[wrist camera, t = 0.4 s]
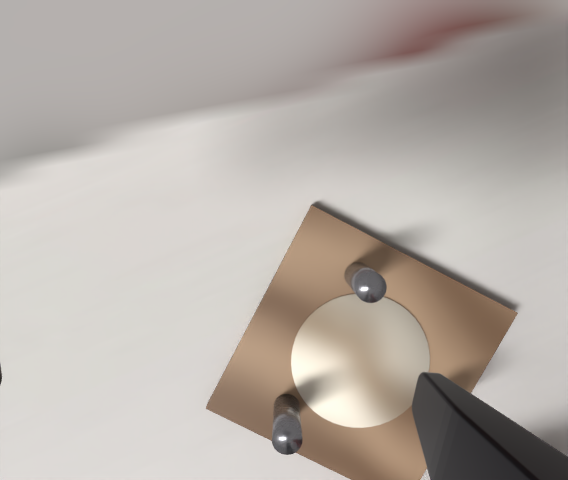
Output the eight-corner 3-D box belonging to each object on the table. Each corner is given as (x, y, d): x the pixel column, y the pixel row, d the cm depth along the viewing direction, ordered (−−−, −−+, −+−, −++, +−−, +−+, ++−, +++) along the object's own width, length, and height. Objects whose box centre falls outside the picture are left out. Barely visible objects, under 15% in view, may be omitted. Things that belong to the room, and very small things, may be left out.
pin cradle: (401, 498, 25) (424, 555, 21) (207, 403, 24) (192, 442, 20) (511, 310, 24) (558, 331, 20) (311, 205, 23) (317, 205, 19)
